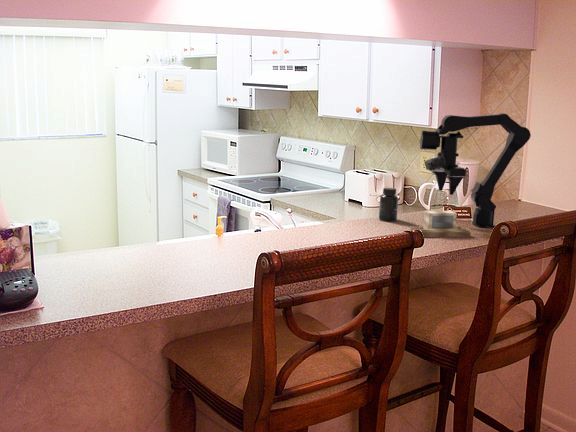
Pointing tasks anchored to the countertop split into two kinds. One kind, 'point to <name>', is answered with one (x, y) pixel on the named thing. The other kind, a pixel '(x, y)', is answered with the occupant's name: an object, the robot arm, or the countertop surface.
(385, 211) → the supplement bottle
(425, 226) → the ash frame block
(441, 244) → the countertop surface
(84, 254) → the countertop surface
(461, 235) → the notched ledge
